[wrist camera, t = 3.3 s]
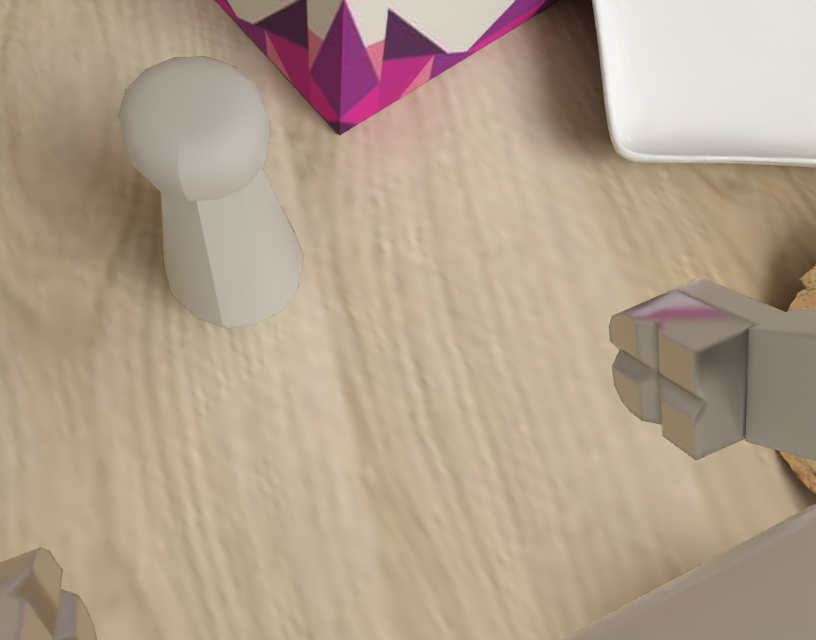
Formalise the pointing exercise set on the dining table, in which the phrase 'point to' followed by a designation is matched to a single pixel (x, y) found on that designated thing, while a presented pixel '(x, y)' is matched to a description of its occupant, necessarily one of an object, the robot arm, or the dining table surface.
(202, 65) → the salt shaker
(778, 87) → the plate
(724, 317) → the robot arm
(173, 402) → the dining table surface
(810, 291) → the tan hollow lump
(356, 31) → the decorative box
